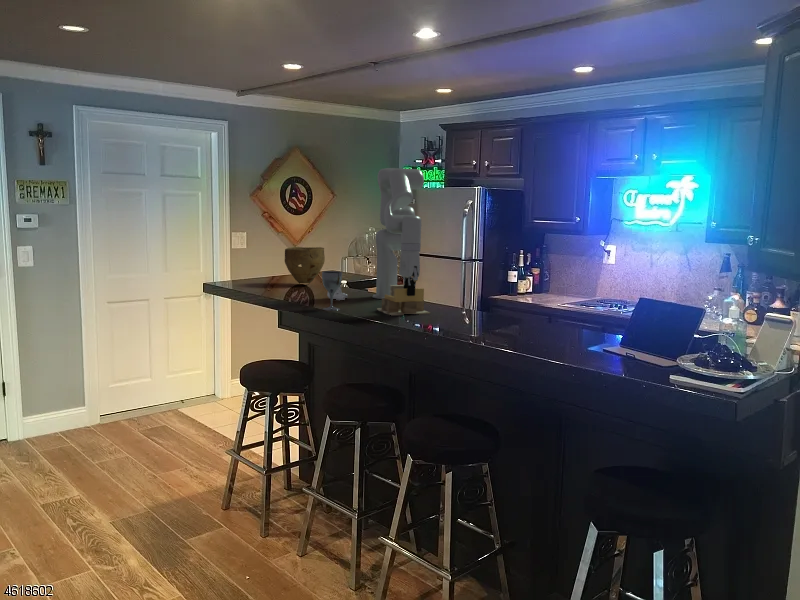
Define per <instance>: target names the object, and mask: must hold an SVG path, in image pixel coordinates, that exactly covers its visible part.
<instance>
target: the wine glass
mask: <svg viewBox="0 0 800 600" xmlns="http://www.w3.org/2000/svg"><path fill="white" fill-rule="evenodd" d="M321 279H322V284H323V287H324V289H325V290H327V293H328V292H329V294H330V298H329V299H330V304H329V306H328V307H324V308H322V310H323V311H340V310H341V309H340V308H339V307H335V306H333V301H334V300H333V295H334V293H335V292H336V290H337V289H338V288H339V287H341V285H342V281H343V280H342V279H343V271H339V270H338V271H336V270H323V271H322V272H321Z"/></svg>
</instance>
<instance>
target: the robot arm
mask: <svg viewBox="0 0 800 600" xmlns="http://www.w3.org/2000/svg"><path fill="white" fill-rule="evenodd" d="M377 183H378V187H379V193H380V213H379V218H380V219H379V220H380V224H381V225H383V226H384V227H385V228H384V229H383V228H382V229H380V230H378V231H377V232H376V234H375V244H376V245H375V246H376V283H375V284H376V285H375V287H376V288H375V293H373V294H372V298H374V299H378V300H379V299H380V300H382V298H385V295H386V294H388V295H390V285H398V275H400V276H401V277H402V278H403V282H402V283H403V285H404V289H407V296H415V288H416V286H417V282H418V280H419V277H420V273H421V271H420V270H421V261H420V260H421V258H420V256H421V255H420V253H421V247H422V246H421V245H422V244H421V243H422V241H421V239H422V218H421V217H420V216H418V215H416V212H415V209H414V207H412V206H410V204H411V203H412V201H413V200H414V194H413V190H421V189H422V188H423V187H424V184H425V176H424V173H423V171H422V170H421V169H417V168H400V167H399V168H397V167H386V168H381V169H379V171H378V173H377ZM393 251H400V257H399V265H398V257H397V256H396V254H395V253H394V252H393ZM398 266H399V268H398ZM398 269H399V271H398Z"/></svg>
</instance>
